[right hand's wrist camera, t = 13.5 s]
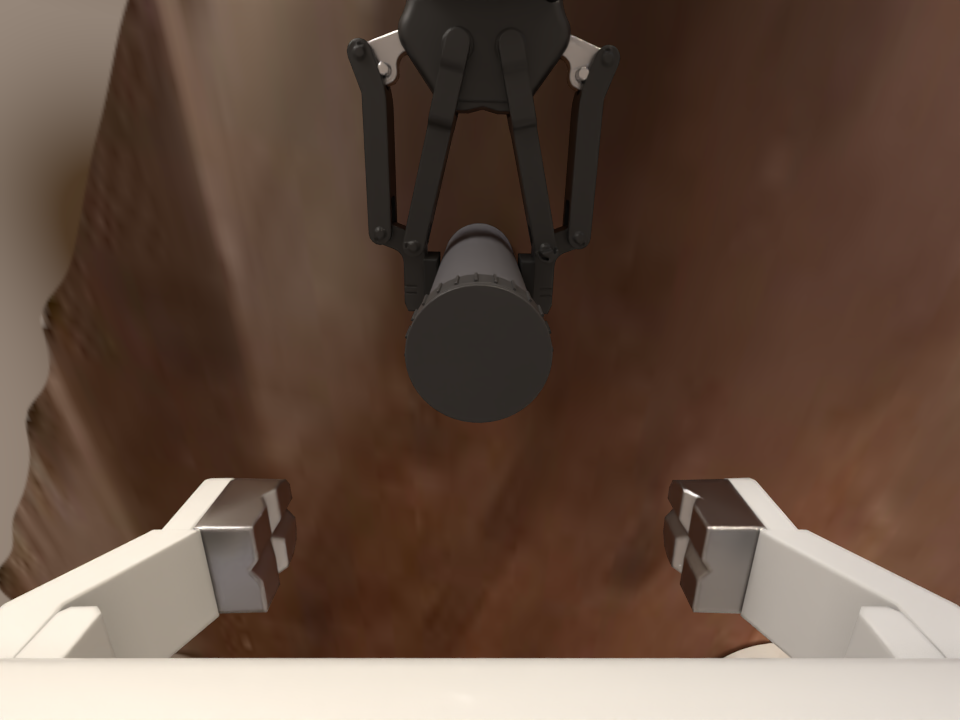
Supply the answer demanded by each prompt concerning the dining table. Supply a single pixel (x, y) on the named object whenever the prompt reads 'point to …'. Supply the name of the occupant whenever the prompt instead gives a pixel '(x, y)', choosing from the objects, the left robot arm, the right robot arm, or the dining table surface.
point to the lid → (478, 348)
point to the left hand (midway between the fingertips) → (477, 361)
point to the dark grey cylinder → (478, 255)
